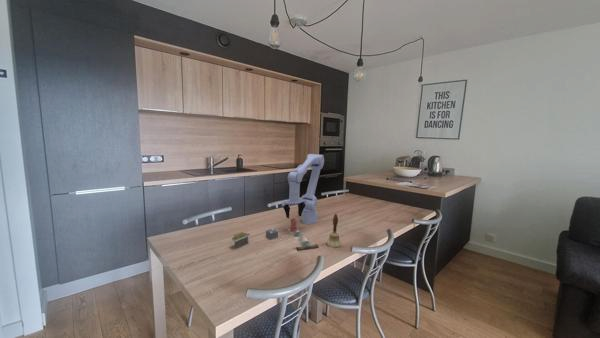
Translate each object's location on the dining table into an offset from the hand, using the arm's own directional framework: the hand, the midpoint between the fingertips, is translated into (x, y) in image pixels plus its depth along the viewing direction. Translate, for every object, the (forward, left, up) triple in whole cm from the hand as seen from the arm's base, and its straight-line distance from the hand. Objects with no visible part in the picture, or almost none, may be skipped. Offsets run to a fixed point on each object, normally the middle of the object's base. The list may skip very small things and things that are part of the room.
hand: (293, 216), depth 138 cm
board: (0, +9, -9) cm, 13 cm away
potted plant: (+30, +7, -10) cm, 33 cm away
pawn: (0, 0, -8) cm, 8 cm away
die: (+14, +5, -9) cm, 18 cm away
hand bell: (-15, +20, -10) cm, 27 cm away
